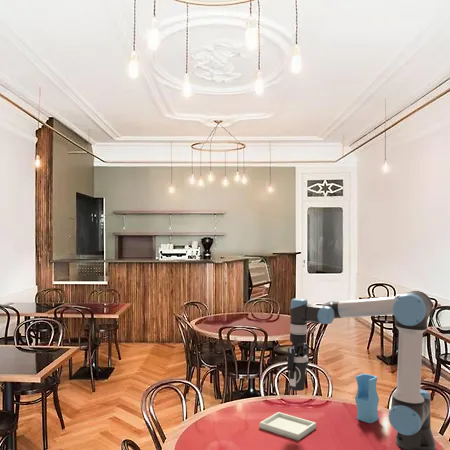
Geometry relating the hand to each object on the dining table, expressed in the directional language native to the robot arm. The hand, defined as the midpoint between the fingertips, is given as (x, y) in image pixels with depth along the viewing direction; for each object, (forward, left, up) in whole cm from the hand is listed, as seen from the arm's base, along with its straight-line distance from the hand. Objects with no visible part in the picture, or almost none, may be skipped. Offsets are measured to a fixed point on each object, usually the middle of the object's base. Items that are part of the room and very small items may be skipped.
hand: (297, 383), depth 204 cm
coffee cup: (0, 0, -2) cm, 2 cm away
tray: (+4, +2, -20) cm, 21 cm away
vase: (-20, -31, -20) cm, 42 cm away
